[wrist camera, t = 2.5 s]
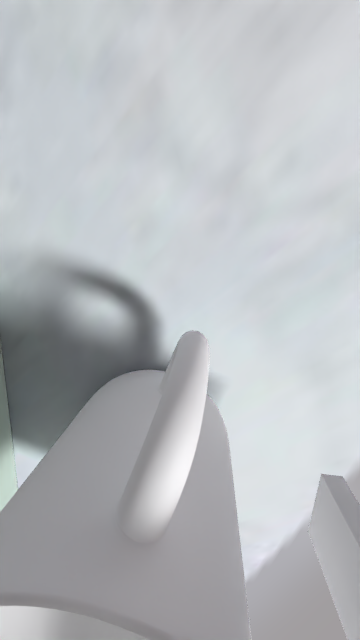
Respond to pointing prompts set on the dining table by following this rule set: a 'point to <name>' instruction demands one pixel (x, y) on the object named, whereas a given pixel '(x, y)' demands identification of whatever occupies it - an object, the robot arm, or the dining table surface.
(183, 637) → the cup
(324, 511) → the robot arm
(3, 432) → the scale base
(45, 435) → the dining table surface
